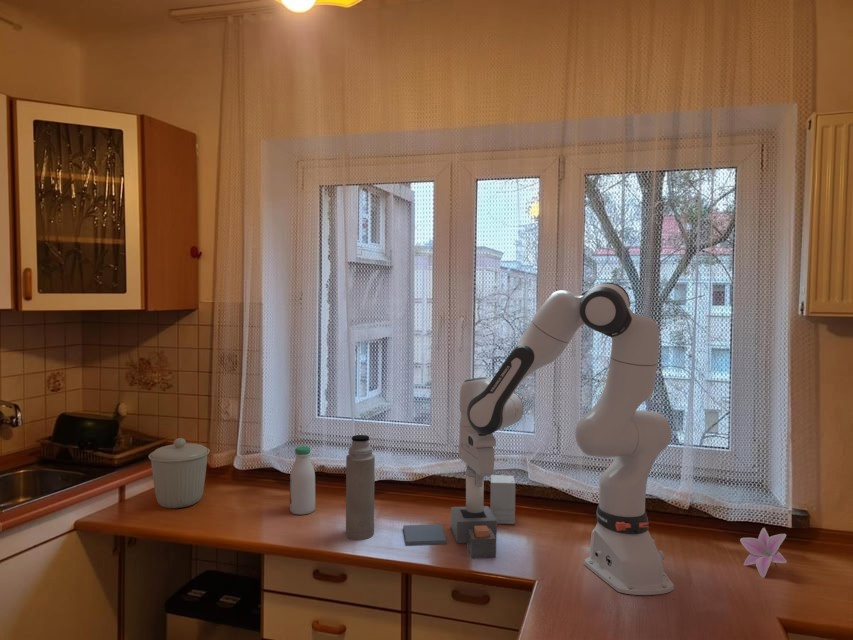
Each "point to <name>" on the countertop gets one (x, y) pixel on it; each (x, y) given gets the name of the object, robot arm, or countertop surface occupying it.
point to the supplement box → (503, 499)
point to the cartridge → (474, 493)
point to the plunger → (481, 531)
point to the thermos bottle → (360, 489)
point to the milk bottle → (302, 483)
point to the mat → (424, 534)
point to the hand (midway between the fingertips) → (474, 482)
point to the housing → (470, 522)
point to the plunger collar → (481, 545)
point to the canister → (179, 473)
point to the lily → (763, 551)
